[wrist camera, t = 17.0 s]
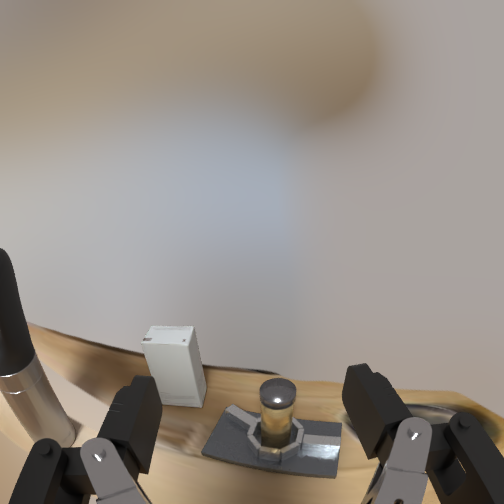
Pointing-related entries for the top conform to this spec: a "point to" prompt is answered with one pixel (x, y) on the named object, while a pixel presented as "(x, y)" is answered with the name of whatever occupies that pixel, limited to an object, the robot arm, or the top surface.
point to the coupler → (276, 412)
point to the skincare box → (175, 365)
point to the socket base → (270, 459)
